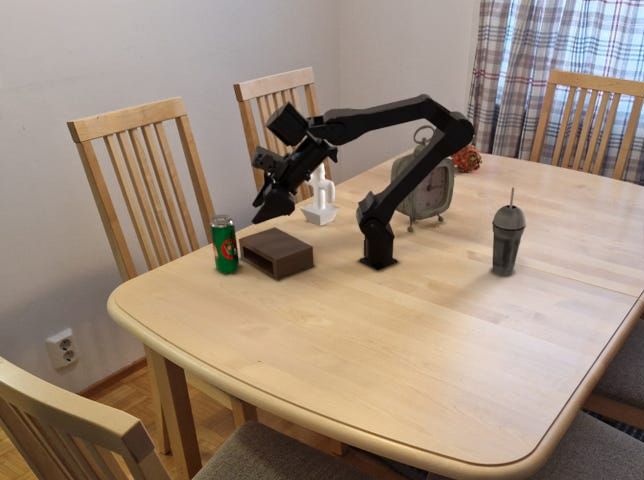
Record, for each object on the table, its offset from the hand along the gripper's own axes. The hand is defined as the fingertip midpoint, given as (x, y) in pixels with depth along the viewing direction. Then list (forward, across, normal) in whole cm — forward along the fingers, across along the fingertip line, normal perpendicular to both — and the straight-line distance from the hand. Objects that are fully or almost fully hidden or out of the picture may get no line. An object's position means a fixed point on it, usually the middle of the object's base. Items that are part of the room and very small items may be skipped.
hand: (253, 214), depth 136 cm
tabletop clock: (-20, -21, +38) cm, 47 cm away
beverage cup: (-30, +8, +47) cm, 56 cm away
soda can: (+14, 0, +4) cm, 14 cm away
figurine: (-2, -25, +20) cm, 32 cm away
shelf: (+6, -2, +12) cm, 13 cm away
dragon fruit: (-36, -61, +54) cm, 89 cm away
